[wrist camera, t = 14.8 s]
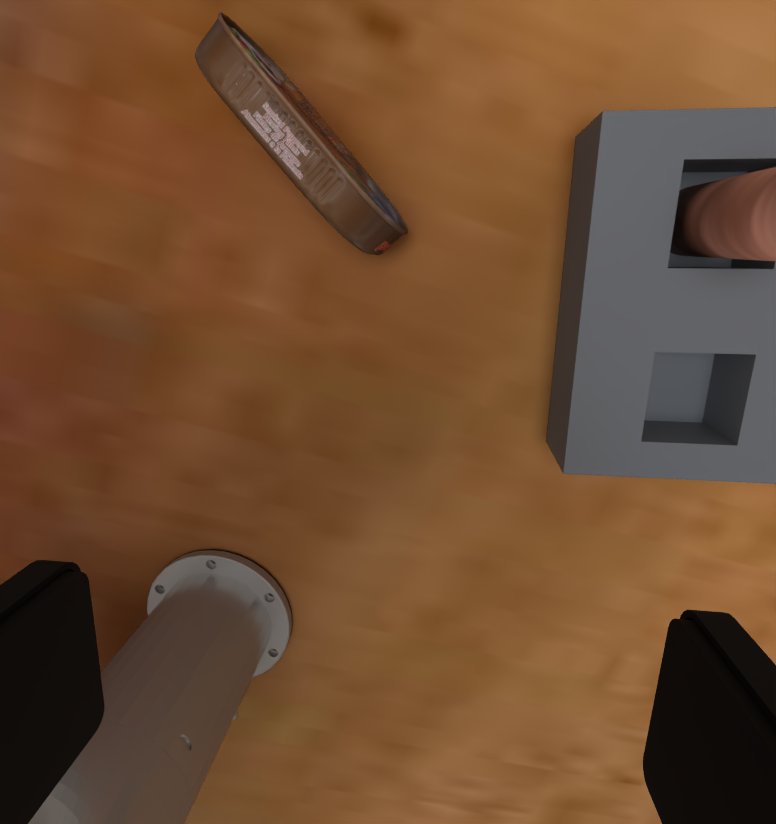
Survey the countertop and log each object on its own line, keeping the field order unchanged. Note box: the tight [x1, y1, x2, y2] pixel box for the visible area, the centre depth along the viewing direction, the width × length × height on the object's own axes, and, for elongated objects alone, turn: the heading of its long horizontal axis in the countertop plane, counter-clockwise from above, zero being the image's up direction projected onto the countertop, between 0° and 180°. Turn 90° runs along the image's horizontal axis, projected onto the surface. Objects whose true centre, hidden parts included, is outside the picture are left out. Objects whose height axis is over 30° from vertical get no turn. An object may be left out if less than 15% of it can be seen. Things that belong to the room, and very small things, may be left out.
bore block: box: [546, 107, 776, 484], centre depth 32 cm, size 20×14×6 cm
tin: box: [195, 12, 408, 255], centre depth 31 cm, size 15×3×8 cm, turn 41°
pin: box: [670, 167, 776, 261], centre depth 26 cm, size 4×4×12 cm
